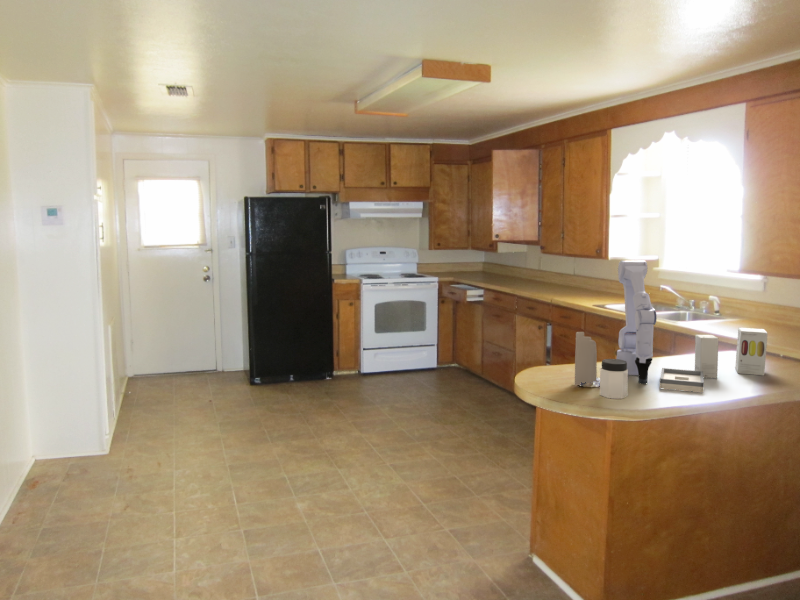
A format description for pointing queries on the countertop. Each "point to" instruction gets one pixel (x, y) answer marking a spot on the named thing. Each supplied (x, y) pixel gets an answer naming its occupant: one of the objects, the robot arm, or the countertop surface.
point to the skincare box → (706, 355)
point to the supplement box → (751, 351)
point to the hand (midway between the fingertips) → (642, 378)
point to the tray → (682, 380)
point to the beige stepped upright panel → (585, 359)
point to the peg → (643, 380)
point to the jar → (613, 378)
